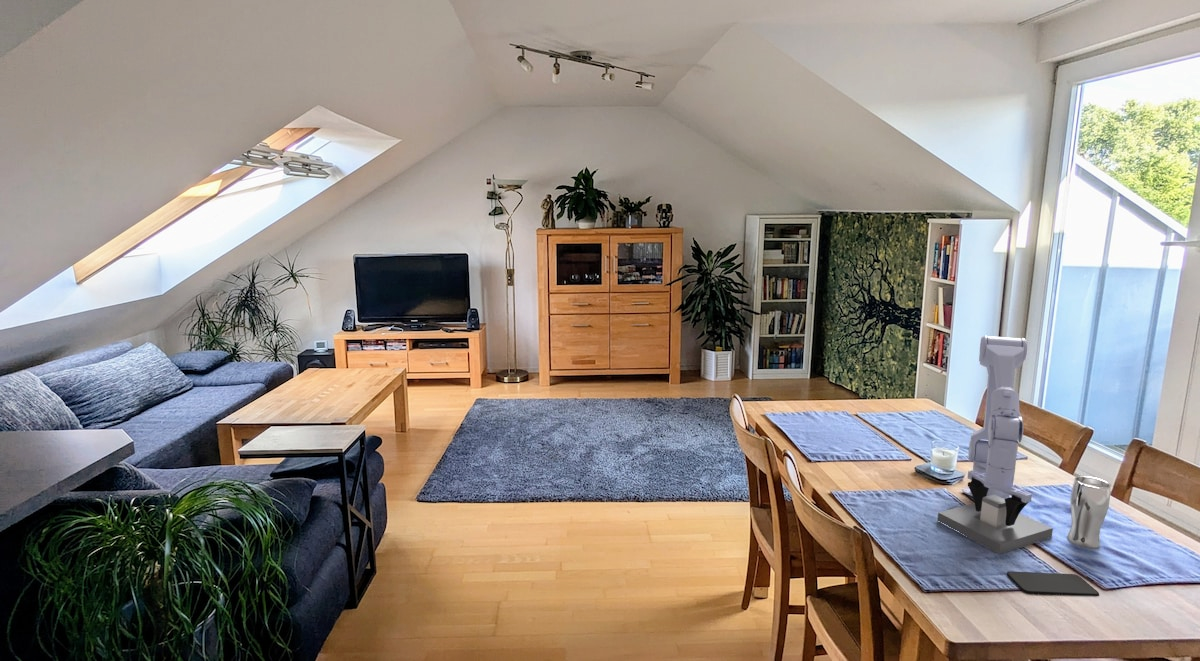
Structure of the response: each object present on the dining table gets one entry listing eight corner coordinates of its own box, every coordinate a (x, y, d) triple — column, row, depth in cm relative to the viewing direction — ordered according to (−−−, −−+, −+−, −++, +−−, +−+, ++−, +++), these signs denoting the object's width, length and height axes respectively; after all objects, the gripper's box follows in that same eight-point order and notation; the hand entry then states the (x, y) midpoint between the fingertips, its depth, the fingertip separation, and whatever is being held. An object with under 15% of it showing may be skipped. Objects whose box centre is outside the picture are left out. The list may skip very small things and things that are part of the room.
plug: (990, 524, 153) (993, 494, 151) (1006, 532, 149) (1010, 501, 147) (979, 527, 151) (982, 497, 149) (994, 535, 147) (998, 504, 146)
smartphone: (1102, 594, 124) (1025, 591, 125) (1102, 599, 124) (1024, 595, 125) (1077, 573, 131) (1004, 570, 132) (1076, 577, 131) (1003, 574, 132)
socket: (987, 508, 161) (988, 499, 160) (1051, 537, 146) (1052, 528, 146) (937, 521, 154) (938, 512, 154) (999, 554, 139) (1000, 544, 139)
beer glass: (1095, 536, 146) (1104, 477, 143) (1107, 551, 140) (1117, 490, 137) (1060, 532, 149) (1068, 473, 146) (1071, 546, 142) (1080, 486, 139)
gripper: (961, 456, 152) (955, 507, 155) (1019, 479, 139) (1012, 535, 141) (981, 452, 154) (975, 502, 157) (1040, 474, 141) (1033, 528, 144)
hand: (994, 517), depth 149 cm, fingers open, 7 cm apart
